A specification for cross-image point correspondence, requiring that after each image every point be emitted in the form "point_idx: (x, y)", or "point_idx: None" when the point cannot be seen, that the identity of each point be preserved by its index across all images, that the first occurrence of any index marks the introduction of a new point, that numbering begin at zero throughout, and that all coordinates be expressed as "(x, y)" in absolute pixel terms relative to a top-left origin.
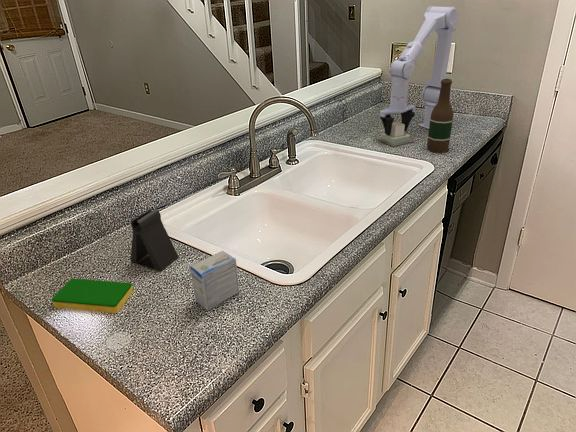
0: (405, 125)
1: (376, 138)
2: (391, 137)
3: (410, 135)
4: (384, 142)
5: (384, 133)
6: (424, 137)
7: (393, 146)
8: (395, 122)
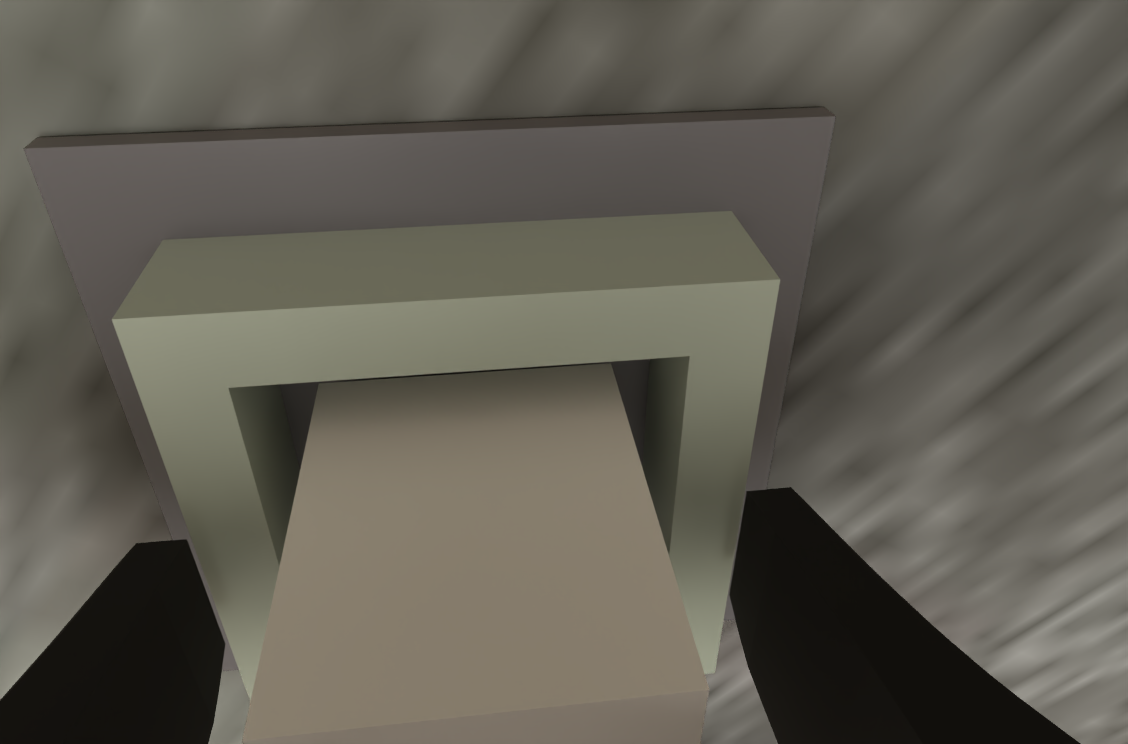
0: (799, 728)
1: (30, 163)
2: (251, 640)
3: (713, 669)
4: (146, 461)
5: (222, 360)
6: (1060, 505)
7: (226, 664)
8: (567, 728)
